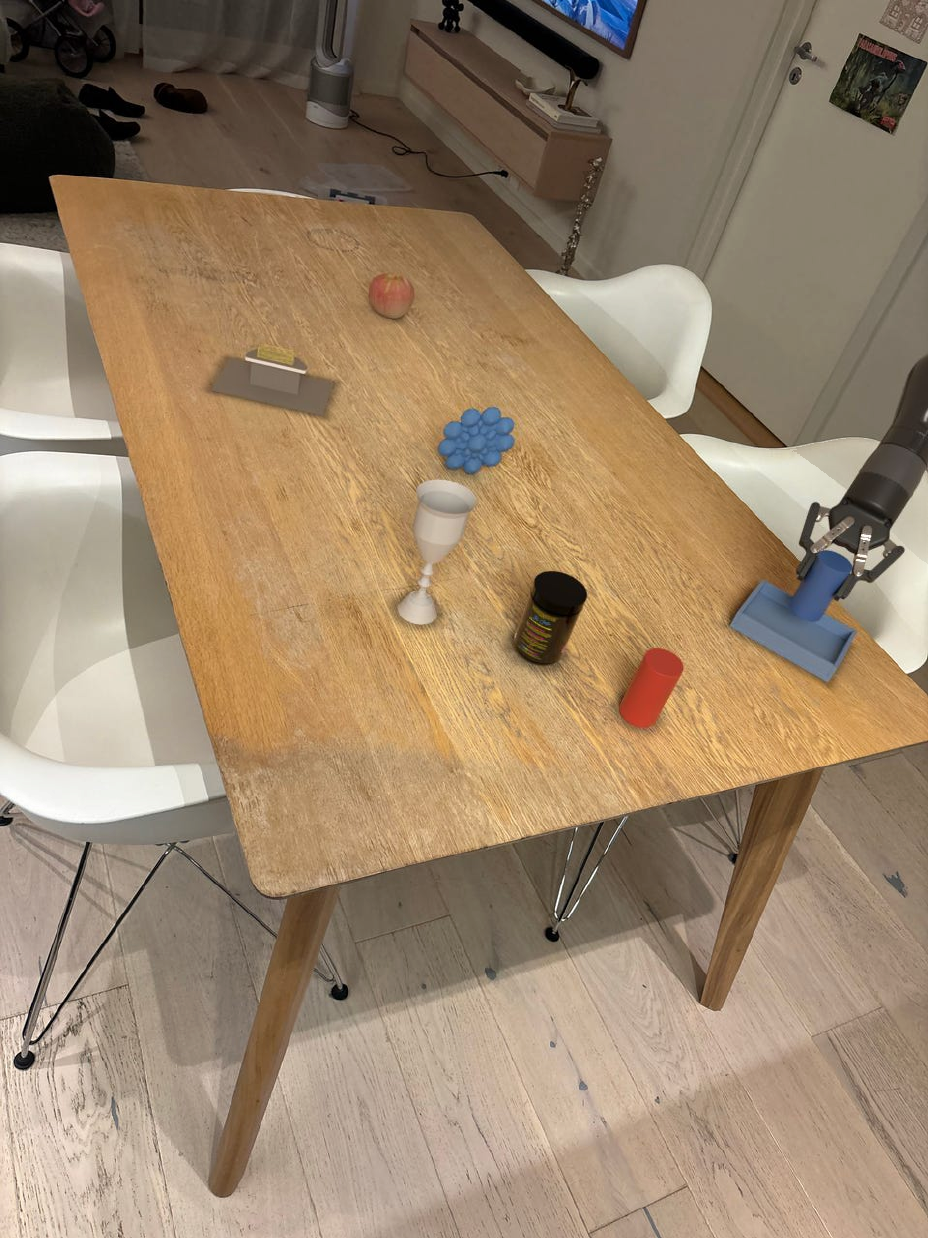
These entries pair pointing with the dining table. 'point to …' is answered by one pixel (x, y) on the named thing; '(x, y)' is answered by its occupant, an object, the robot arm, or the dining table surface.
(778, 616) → the blue tray
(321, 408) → the platform
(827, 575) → the blue pin
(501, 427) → the blue bubble cluster
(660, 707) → the red pin
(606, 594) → the dining table surface
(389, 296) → the apple
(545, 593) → the supplement container
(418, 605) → the chalice
